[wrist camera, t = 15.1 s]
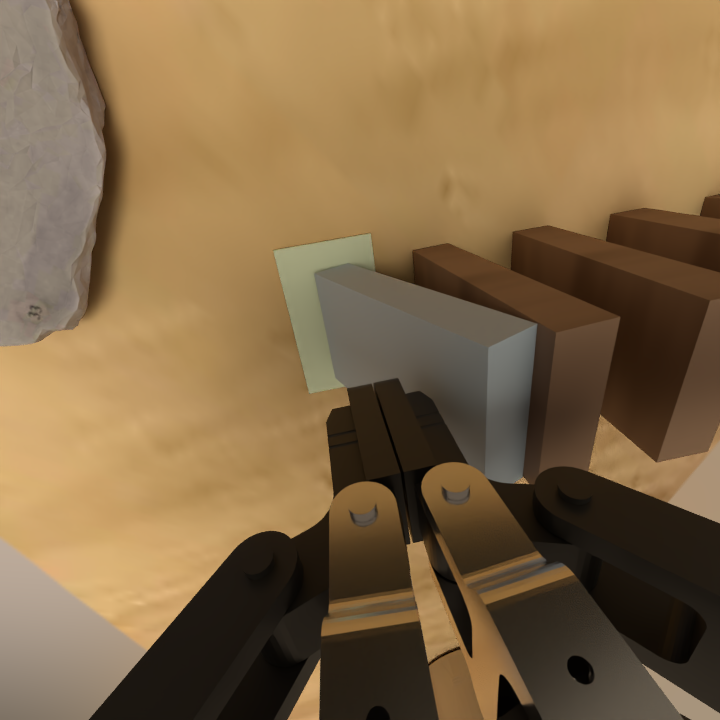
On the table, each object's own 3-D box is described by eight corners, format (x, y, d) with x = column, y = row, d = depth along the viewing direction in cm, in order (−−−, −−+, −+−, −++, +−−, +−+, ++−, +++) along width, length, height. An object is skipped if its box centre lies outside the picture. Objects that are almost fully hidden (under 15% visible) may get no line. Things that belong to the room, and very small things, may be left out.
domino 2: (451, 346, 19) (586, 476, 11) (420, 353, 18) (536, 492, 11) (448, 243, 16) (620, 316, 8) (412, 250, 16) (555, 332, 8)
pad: (388, 376, 19) (388, 377, 19) (309, 392, 19) (309, 393, 19) (370, 233, 16) (370, 233, 15) (273, 250, 15) (273, 250, 15)
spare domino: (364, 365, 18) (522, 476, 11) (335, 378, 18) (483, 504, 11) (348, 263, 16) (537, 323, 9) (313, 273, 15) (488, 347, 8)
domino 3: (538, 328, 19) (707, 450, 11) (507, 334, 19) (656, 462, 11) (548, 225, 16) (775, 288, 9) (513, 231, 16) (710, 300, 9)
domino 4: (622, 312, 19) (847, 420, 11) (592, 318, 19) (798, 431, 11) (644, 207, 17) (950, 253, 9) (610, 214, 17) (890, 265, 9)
